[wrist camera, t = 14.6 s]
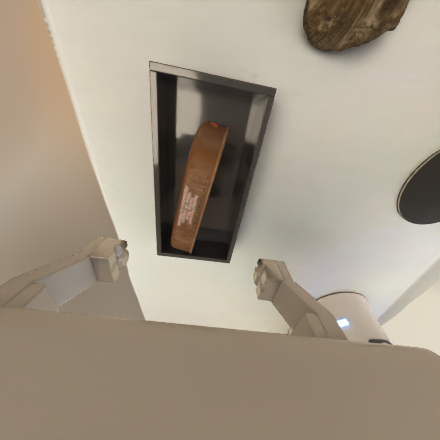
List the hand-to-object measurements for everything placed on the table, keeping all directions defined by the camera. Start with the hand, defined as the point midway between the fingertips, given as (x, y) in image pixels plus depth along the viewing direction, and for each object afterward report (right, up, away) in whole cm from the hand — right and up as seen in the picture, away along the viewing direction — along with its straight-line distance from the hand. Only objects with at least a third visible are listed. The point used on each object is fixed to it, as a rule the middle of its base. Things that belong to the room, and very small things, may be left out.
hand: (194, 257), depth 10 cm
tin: (-1, +7, +12) cm, 15 cm away
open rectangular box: (-1, +8, +13) cm, 15 cm away
